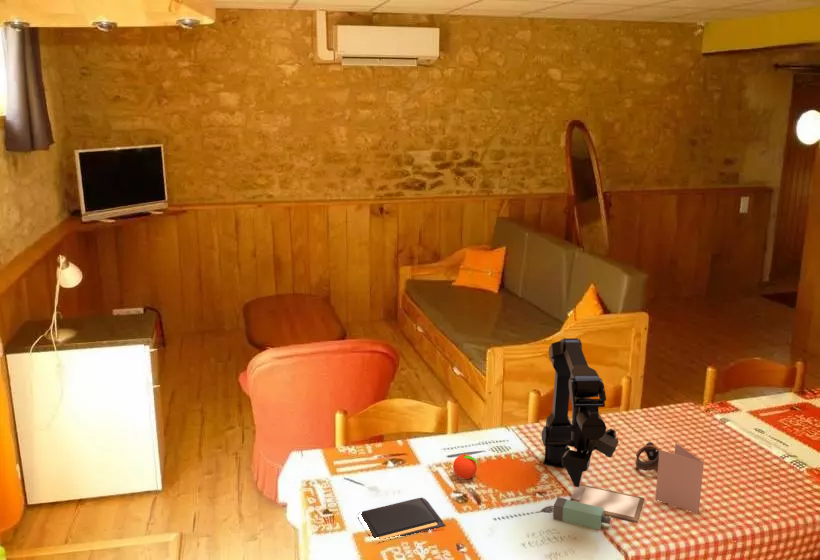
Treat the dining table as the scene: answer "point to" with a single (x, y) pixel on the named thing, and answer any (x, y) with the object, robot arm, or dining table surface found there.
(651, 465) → the pottery mug
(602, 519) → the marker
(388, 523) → the black notebook
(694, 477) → the greeting card
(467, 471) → the clementine
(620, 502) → the clipboard
